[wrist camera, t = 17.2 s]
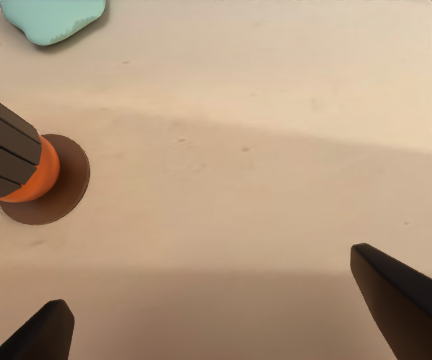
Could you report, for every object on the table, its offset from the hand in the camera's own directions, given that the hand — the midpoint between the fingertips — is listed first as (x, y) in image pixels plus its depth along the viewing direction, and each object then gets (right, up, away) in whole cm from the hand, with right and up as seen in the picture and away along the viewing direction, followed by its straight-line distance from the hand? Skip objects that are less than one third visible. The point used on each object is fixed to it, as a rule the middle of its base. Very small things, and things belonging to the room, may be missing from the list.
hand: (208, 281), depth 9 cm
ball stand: (-14, +3, +17) cm, 22 cm away
